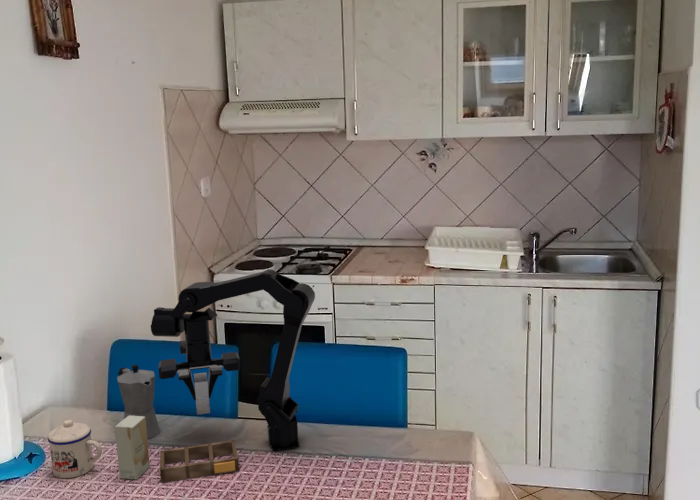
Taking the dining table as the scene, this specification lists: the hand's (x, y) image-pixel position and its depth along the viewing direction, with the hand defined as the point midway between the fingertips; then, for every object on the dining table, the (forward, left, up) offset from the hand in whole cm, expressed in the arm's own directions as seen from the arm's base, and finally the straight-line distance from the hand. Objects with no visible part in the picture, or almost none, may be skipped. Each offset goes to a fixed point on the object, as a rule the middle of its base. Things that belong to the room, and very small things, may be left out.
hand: (202, 398), depth 167 cm
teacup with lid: (+28, +6, -11) cm, 31 cm away
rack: (+2, +13, -11) cm, 17 cm away
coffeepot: (+16, -10, -11) cm, 22 cm away
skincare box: (+16, +11, -11) cm, 22 cm away
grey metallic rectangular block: (0, 0, -3) cm, 3 cm away
